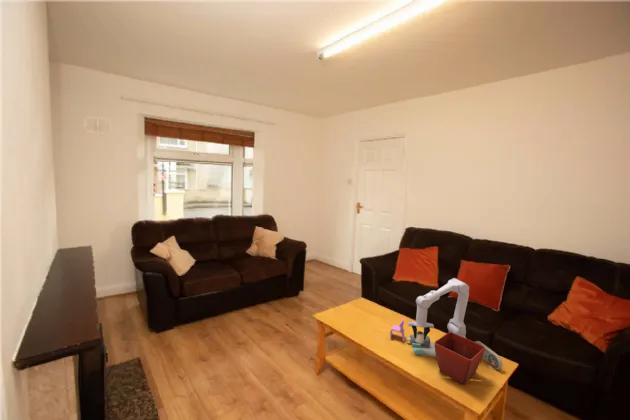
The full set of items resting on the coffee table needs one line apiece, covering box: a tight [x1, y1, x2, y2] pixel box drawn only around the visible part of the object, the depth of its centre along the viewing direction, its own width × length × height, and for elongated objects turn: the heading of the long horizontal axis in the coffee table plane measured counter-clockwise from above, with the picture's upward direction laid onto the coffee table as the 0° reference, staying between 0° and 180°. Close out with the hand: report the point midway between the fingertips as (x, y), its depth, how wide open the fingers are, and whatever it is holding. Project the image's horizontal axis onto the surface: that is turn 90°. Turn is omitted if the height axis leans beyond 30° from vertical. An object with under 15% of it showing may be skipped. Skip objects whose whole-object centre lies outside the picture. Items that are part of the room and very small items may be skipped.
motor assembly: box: [406, 334, 436, 358], centre depth 173 cm, size 17×15×6 cm
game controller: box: [474, 340, 503, 370], centre depth 164 cm, size 20×2×8 cm, turn 11°
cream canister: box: [415, 330, 424, 343], centre depth 169 cm, size 5×5×6 cm
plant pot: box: [433, 331, 485, 385], centre depth 152 cm, size 19×19×17 cm
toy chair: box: [389, 317, 406, 342], centre depth 183 cm, size 8×9×15 cm
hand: (419, 338), depth 169 cm, fingers closed on cream canister, 5 cm apart
